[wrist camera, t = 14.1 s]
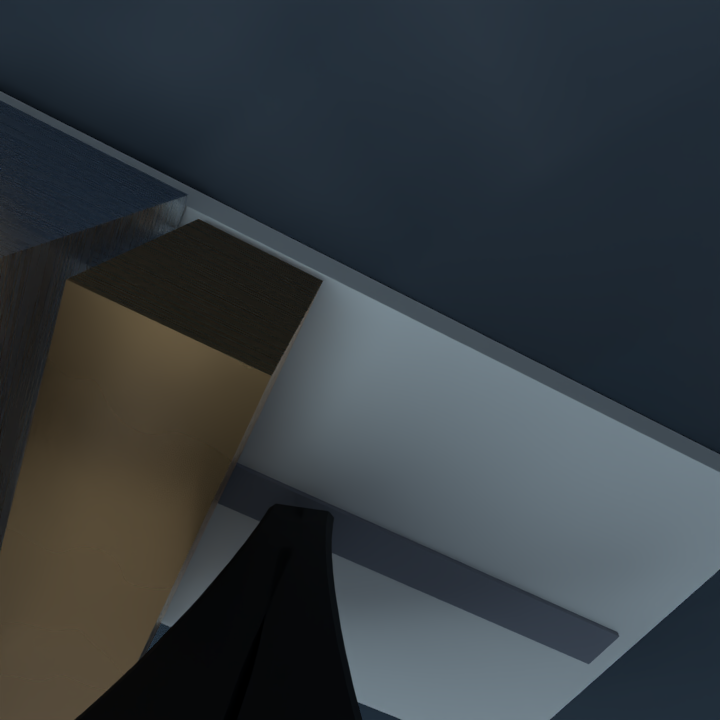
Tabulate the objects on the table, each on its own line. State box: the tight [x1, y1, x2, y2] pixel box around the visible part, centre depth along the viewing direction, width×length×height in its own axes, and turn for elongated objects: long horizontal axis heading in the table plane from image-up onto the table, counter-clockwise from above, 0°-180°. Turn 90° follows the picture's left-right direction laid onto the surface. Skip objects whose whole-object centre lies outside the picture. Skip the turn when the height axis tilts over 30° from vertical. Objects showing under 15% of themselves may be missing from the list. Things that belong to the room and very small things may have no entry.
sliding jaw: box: [0, 219, 323, 720], centre depth 8 cm, size 2×9×3 cm, turn 154°
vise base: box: [0, 91, 720, 720], centre depth 9 cm, size 18×9×4 cm, turn 64°
